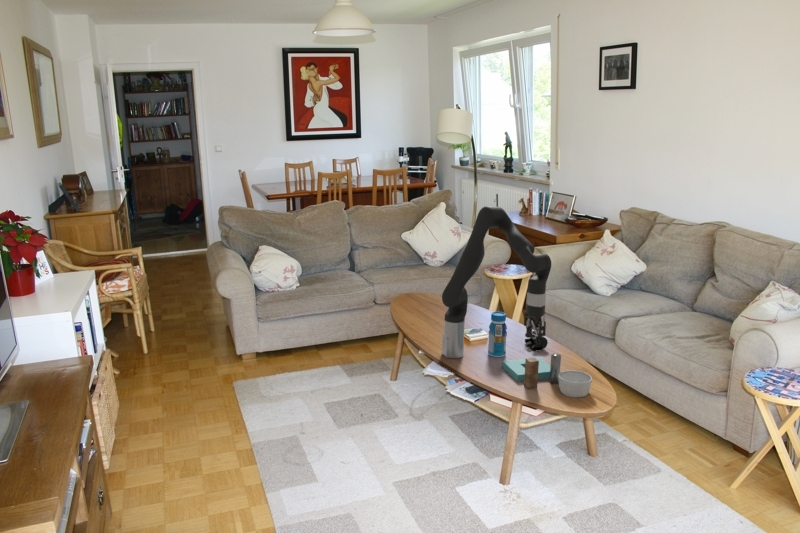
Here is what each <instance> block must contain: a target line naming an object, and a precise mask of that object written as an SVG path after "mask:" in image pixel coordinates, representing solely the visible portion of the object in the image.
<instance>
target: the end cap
mask: <svg viewBox="0 0 800 533" xmlns="http://www.w3.org/2000/svg"><path fill="white" fill-rule="evenodd" d="M524 337H525V339H524V346H526V347H527V348H528V347H529V348H528V349H529V350H531V351H532V352H537V351H536V350H541V351H543V350H544V349H545V348H547V346H548V344H549V343H548V339H547V338H546V336H542V342H541V345H536V332H535V331H534V330H532V337H531V338H527V337H526V332H525V336H524Z"/></svg>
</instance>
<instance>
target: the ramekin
mask: <svg viewBox="0 0 800 533" xmlns="http://www.w3.org/2000/svg"><path fill="white" fill-rule="evenodd" d="M558 379H559V383H558V386H559V390H560V392H561V393H562V395H565V396H567V397H570V398H583V397H586V396H588V395H589V393H590V390H591V385H592V383H593V382H592V381H593V378H592V376H591V375H590V374H589V373H587V372H585V371H581V370H576V369H575V370H572V369H569V370H563V371H560V373H559V375H558Z"/></svg>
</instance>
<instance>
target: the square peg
mask: <svg viewBox="0 0 800 533" xmlns="http://www.w3.org/2000/svg"><path fill="white" fill-rule="evenodd" d="M536 358H537V357H526V358H525V359H526V360H525V377H524V381H523V386H524V388H526V389H527V390H533V389H537V388H538V382H539V381H538V380H539V379H538V367H539V361H538V360H537V359H536Z"/></svg>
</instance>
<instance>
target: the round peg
mask: <svg viewBox="0 0 800 533" xmlns="http://www.w3.org/2000/svg"><path fill="white" fill-rule="evenodd" d="M561 362H562V355H561V354H559V353H552V354H551V356H550V378H549V383H550V384H553V385H557V384H558V385H559V379H558V375H559V373H561V365H562V364H561Z"/></svg>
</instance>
